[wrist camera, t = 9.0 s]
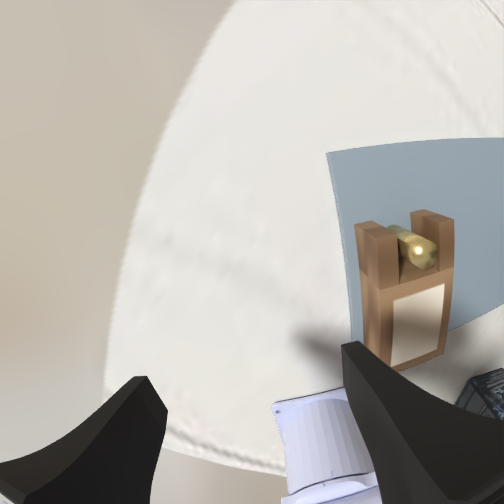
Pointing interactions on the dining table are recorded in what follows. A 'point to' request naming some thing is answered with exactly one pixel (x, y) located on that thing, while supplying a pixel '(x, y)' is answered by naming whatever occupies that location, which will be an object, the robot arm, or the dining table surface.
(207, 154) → the dining table surface
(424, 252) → the peg
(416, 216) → the wooden holder
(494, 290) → the board
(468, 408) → the box
